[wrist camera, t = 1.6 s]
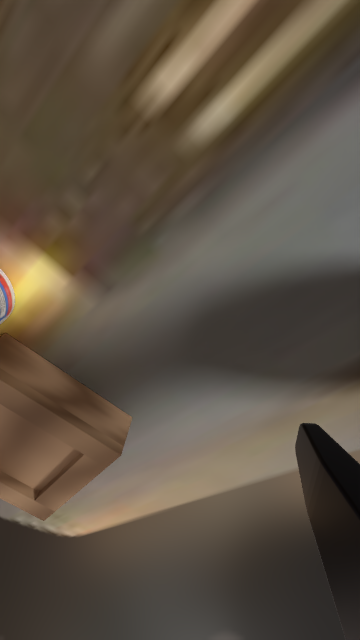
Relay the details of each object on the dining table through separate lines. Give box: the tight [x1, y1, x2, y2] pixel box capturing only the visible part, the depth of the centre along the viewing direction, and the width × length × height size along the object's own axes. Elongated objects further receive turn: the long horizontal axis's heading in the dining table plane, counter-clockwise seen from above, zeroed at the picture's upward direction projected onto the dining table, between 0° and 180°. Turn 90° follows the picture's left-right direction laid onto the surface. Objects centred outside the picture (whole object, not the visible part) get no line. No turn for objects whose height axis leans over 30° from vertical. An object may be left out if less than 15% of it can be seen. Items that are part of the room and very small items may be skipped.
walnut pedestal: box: [0, 333, 132, 521], centre depth 25 cm, size 12×12×4 cm
